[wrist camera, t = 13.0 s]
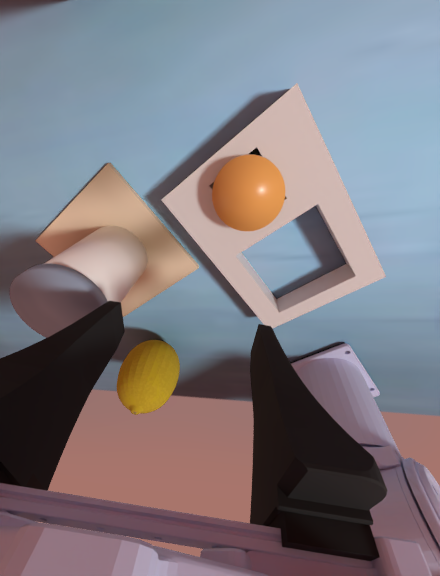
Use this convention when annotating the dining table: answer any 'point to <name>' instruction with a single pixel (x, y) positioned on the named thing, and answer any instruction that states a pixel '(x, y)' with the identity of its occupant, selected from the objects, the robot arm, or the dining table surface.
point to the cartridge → (79, 280)
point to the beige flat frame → (298, 199)
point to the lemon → (148, 376)
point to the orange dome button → (248, 192)
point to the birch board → (132, 216)
